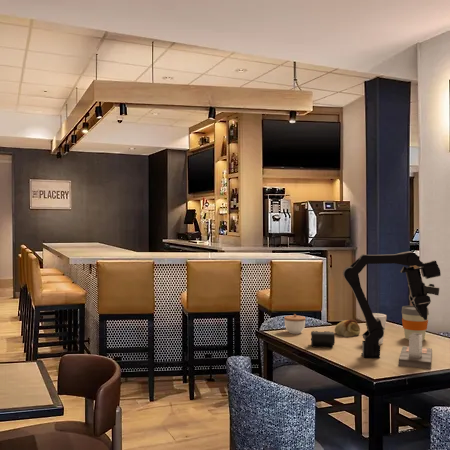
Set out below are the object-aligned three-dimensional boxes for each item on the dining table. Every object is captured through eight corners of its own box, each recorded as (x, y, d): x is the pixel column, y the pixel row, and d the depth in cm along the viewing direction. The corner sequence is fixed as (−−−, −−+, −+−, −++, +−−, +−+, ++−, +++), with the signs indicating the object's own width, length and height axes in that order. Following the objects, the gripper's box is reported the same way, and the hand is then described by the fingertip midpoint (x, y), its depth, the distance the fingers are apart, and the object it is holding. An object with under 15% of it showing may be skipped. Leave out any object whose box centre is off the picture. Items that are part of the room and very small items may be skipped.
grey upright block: (408, 357, 221) (409, 334, 221) (411, 354, 225) (412, 332, 225) (419, 358, 219) (419, 336, 219) (422, 355, 223) (422, 333, 223)
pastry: (355, 338, 267) (355, 322, 267) (330, 335, 273) (330, 319, 273) (364, 333, 279) (364, 317, 279) (340, 330, 285) (340, 315, 285)
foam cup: (361, 341, 260) (361, 313, 260) (377, 339, 264) (377, 312, 263) (374, 345, 251) (374, 317, 251) (390, 343, 255) (390, 315, 255)
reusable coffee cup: (414, 342, 258) (414, 310, 258) (395, 337, 270) (395, 306, 269) (434, 340, 263) (434, 308, 263) (415, 334, 275) (415, 305, 274)
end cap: (312, 348, 246) (312, 333, 246) (310, 344, 253) (310, 329, 253) (334, 348, 246) (334, 333, 246) (331, 344, 253) (331, 330, 253)
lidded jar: (288, 329, 286) (288, 311, 286) (308, 331, 282) (308, 313, 281) (281, 333, 276) (281, 314, 276) (301, 335, 272) (302, 316, 272)
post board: (430, 368, 213) (431, 353, 213) (398, 365, 218) (398, 350, 218) (432, 354, 236) (432, 340, 236) (402, 351, 240) (402, 338, 240)
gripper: (438, 278, 218) (448, 317, 217) (431, 276, 237) (440, 312, 235) (410, 284, 220) (419, 322, 219) (405, 281, 239) (413, 317, 237)
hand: (424, 318), depth 228 cm, fingers open, 9 cm apart
